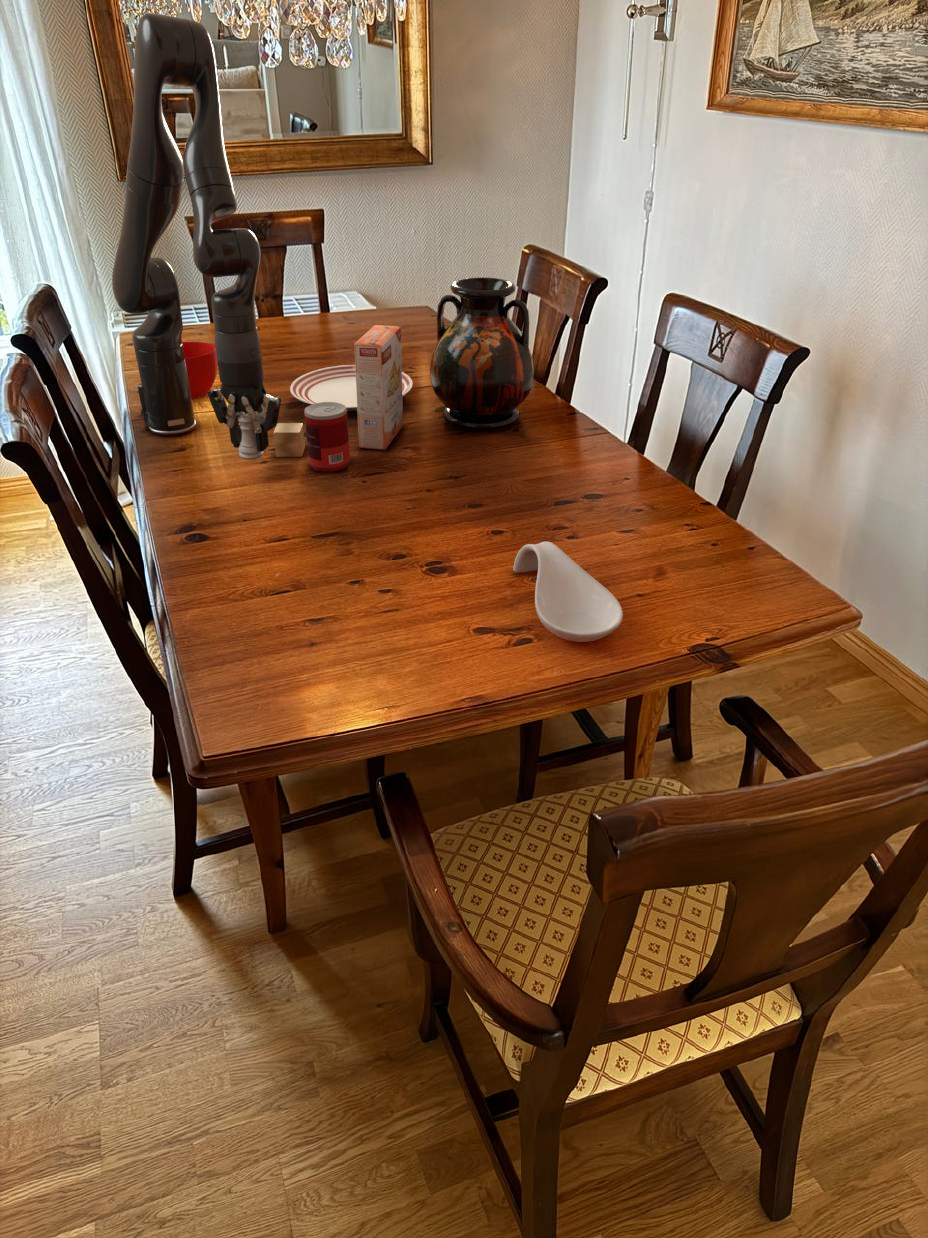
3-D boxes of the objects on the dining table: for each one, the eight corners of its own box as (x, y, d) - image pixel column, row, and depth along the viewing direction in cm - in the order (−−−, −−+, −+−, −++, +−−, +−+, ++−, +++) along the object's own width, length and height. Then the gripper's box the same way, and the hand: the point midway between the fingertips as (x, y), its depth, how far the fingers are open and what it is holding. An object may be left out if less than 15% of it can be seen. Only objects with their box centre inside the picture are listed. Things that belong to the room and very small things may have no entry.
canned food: (357, 459, 173) (353, 404, 167) (339, 475, 167) (334, 418, 161) (321, 453, 175) (316, 399, 169) (302, 469, 169) (296, 413, 163)
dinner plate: (384, 425, 189) (383, 410, 187) (269, 410, 196) (267, 395, 194) (430, 385, 210) (430, 371, 209) (324, 373, 218) (323, 359, 216)
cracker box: (387, 451, 177) (382, 345, 165) (358, 449, 178) (351, 342, 166) (405, 426, 188) (402, 325, 177) (377, 424, 189) (372, 323, 178)
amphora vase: (417, 433, 185) (413, 292, 170) (447, 399, 202) (446, 268, 187) (519, 444, 180) (525, 300, 165) (540, 408, 198) (547, 275, 182)
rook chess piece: (240, 450, 165) (235, 409, 161) (265, 450, 166) (260, 408, 161) (237, 460, 162) (231, 418, 157) (262, 460, 162) (257, 417, 158)
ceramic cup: (237, 380, 213) (231, 338, 207) (208, 404, 199) (201, 359, 193) (186, 377, 214) (179, 335, 209) (153, 401, 200) (145, 356, 195)
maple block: (276, 456, 174) (273, 432, 172) (280, 446, 178) (277, 422, 176) (301, 456, 174) (299, 432, 172) (305, 446, 179) (302, 422, 176)
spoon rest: (636, 644, 121) (642, 599, 117) (557, 662, 117) (560, 616, 113) (559, 563, 139) (562, 522, 135) (489, 576, 136) (490, 534, 132)
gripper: (286, 353, 155) (295, 446, 164) (215, 343, 158) (227, 435, 168) (264, 365, 149) (274, 461, 158) (190, 355, 152) (204, 449, 162)
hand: (250, 447), depth 163 cm, fingers closed on rook chess piece, 4 cm apart
